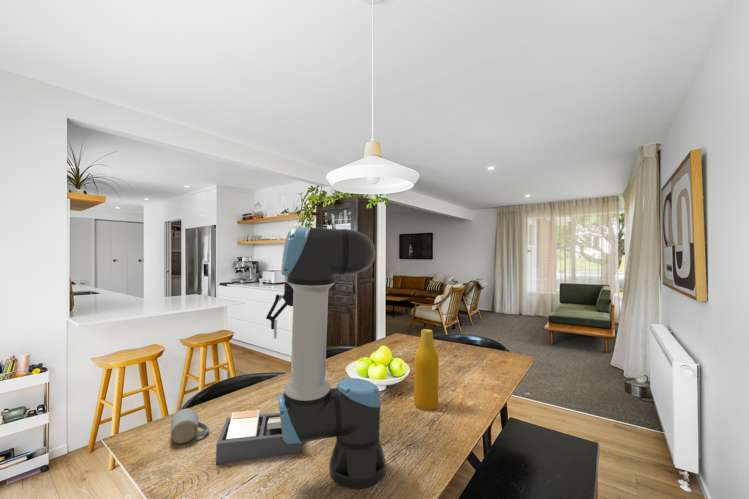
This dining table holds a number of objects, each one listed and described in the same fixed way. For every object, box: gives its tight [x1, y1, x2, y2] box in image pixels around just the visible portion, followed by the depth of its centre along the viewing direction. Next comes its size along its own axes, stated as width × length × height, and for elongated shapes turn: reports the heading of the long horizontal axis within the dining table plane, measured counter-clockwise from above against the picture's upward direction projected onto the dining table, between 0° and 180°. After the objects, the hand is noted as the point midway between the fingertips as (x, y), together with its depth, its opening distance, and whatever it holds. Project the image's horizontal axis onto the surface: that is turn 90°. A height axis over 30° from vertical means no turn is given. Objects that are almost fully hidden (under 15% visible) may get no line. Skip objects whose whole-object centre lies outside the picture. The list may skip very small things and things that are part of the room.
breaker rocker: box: [226, 409, 261, 440], centre depth 100 cm, size 10×9×2 cm
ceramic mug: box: [170, 408, 210, 445], centre depth 104 cm, size 11×8×8 cm
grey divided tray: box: [215, 412, 303, 465], centre depth 101 cm, size 15×23×8 cm, turn 104°
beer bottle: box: [413, 328, 440, 411], centre depth 129 cm, size 9×9×29 cm
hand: (293, 337), depth 128 cm, fingers open, 13 cm apart
